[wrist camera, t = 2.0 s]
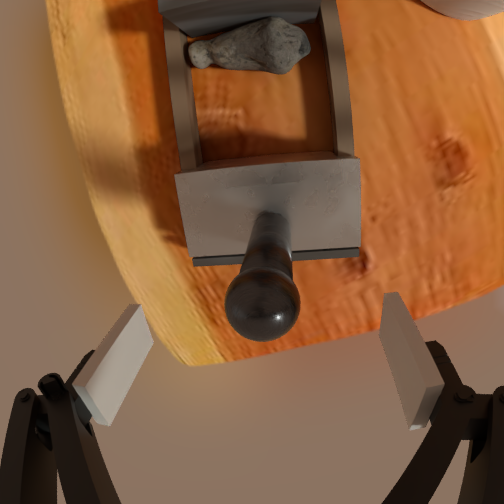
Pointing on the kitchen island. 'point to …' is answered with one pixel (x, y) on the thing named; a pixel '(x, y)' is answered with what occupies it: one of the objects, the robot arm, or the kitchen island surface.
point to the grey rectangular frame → (227, 19)
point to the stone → (254, 47)
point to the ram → (269, 226)
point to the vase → (467, 8)
